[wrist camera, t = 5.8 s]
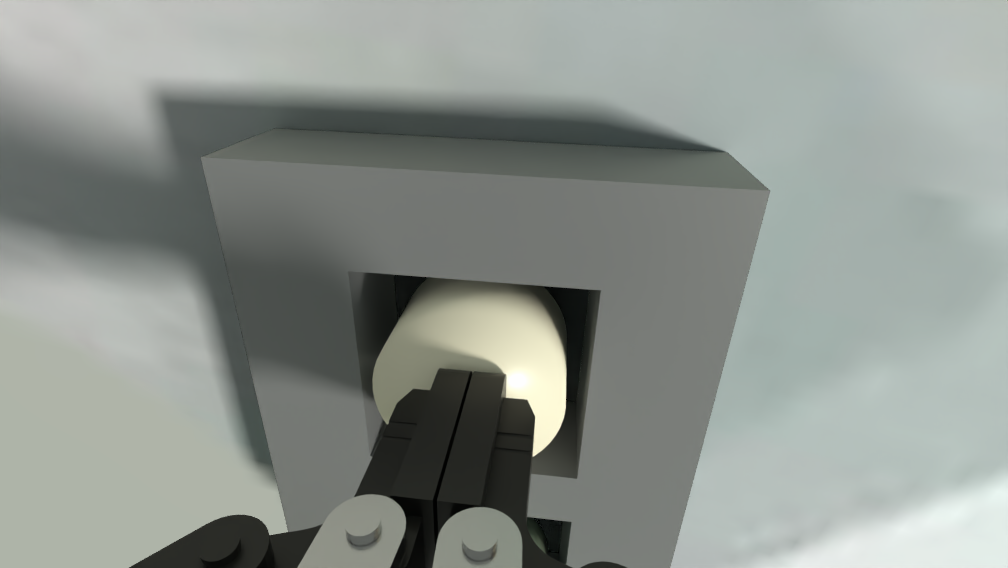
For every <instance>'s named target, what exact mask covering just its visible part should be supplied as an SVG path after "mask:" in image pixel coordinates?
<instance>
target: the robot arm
mask: <svg viewBox="0 0 1008 568" xmlns="http://www.w3.org/2000/svg"><path fill="white" fill-rule="evenodd" d="M506 382H507V376H506V374H499V373H488V372H478V371H474V372H473V374H472V371H465V370H455V369H444V368H439V369H438V371H437V373H436V376H435V379H434V381H433V384H432V387H431V389H430V390H422V389H412V390H411V391H410V392H409V393H408V394H407V395H405V396H404V397H403V398H402V399H401V400H400V401H399V402H398V403H397V404H396V406H395V408H394V411H393V413H392V415H391V417H390V419H389V424H387V426H386V428H385V430H384V433H383V435H382V439H380V441H379V444H378V446H377V448H376V450H375V452H374V455H373V457H372V459H371V461H370V463H369V466H368V468H367V470H366V472H365V474H364V477H363V479H362V481H361V483H360V485H359V488H358V490H357V492H356V494H355V496H354V498H351V499H349V500H347V501H345V502H343V503H342V504H340V505H339V506H337V507H336V508H335V509H334V510H333V511H332V512H331V513H330V514H329V515H328V517H327V518H326V520H325V521H324V523H323V524H321V525H318V526H316V527H313V528H308V529H304V530H298V531H292V532H286V533H281V534H275V535H269V533H268V530H267V528H266V526H265V525H264V524H263V522H262V521H260V520H259V519H257V518H255V517H252V516H247V515H232V516H227V517H223V518H220V519H217V520H214V521H212V522H210V523H208V524H206V525H204V526H202V527H201V528H199V529H197V530H195V531H194V532H192V533H190V534H188V535H186V536H185V537H183V538H181V539H179V540H177V541H176V542H174V543H172V544H170V545H169V546H167V547H165V548H163V549H161V550H160V551H158V552H156V553H154V554H152V555H151V556H149V557H147V558H145V559H144V560H142V561H140V562H138V563H136V564H135V565H133V566H131V567H129V568H572V567H570V566H568V565H566V564H564V563H561V562H559V561H557V560H555V559H553V558H552V557H550V556H549V555H547V554H546V553H544V552H543V551H542V550H541V549H540V548H539V547H538V546H537V545H536V543H535V542H534V541H533V539H532V537H531V535H530V533H529V531H528V528H527V514H528V503H529V492H530V482H531V471H532V458H533V443H534V429H535V415H534V413H533V411H532V409H531V406H530V404H529V402H528V400H525V399H515V398H506ZM581 568H627V567H625V566H622V565H620V564H617V563H612V562H604V561H601V562H593V563H589V564H586V565H584V566H582V567H581Z"/></svg>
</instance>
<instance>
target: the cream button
mask: <svg viewBox="0 0 1008 568" xmlns="http://www.w3.org/2000/svg"><path fill="white" fill-rule="evenodd" d="M566 364H567V331H566V324H565V321H564V317H563V314H562V312H561V310H560V308H559V306H558V304H557V303H556V301H555V300H554V298H553V297H552V296H551V294H550V293H549V292H548V291H547V290H546V289H545V288H544V287H543V286H536V285H523V284H510V283H497V282H484V281H471V280H458V279H445V278H432V277H429V278H427V279H426V280H425V281H424V282H423V283H422V284H421V285H420V286H419V287H418V288H417V290H416V291H415V292H414V294H413V295H412V297H411V299H410V301H409V303H408V304H407V306H406V308H405V310H404V311H403V313H402V315H401V317H400V319H399V320H398V322H397V324H396V326H395V327H394V329H393V331H392V333H391V334H390V336H389V338H388V340H387V342H386V343H385V345H384V347H383V349H382V350H381V352H380V354H379V356H378V358H377V361H376V364H375V367H374V371H373V379H372V382H373V394H374V399H375V402H376V405H377V408H378V410H379V412H380V414H381V416H382V418H383V420H384V421H385V423H386V424H389V419H390V417H391V415H392V413H393V411H394V408H395V406H396V404H397V403H398V402H399V401H400V400H401V399H402V398H403V397H404V396H405V395H407V394H408V393H409V392H410V391H411V390H412V389H422V390H430V389H431V387H432V384H433V381H434V379H435V376H436V373H437V371H438V369H439V368H444V369H455V370H465V371H472V374H473V372H474V371H478V372H488V373H499V374H506V376H507V382H506V398H515V399H525V400H528V402H529V404H530V406H531V409H532V411H533V413H534V415H535V429H534V443H533V457H534V456H535V455H536V454H538V453H539V452H541V451H542V450H543V449H544V448H545V447H546V446H547V445H548V444H549V443H550V442H551V441H552V440H553V438H554V437H555V436H556V434H557V432H558V431H559V429H560V427H561V424H562V422H563V419H564V415H565V409H566Z"/></svg>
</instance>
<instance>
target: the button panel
mask: <svg viewBox="0 0 1008 568" xmlns="http://www.w3.org/2000/svg"><path fill="white" fill-rule="evenodd" d="M201 162H202V166H203V170H204V174H205V179H206V183H207V187H208V191H209V196H210V200H211V204H212V208H213V213H214V217H215V221H216V226H217V230H218V234H219V238H220V243H221V247H222V251H223V255H224V260H225V264H226V268H227V272H228V277H229V281H230V285H231V289H232V294H233V298H234V302H235V307H236V311H237V315H238V319H239V324H240V328H241V332H242V336H243V341H244V345H245V349H246V353H247V358H248V362H249V366H250V370H251V375H252V379H253V383H254V387H255V392H256V396H257V400H258V405H259V409H260V413H261V417H262V422H263V426H264V430H265V434H266V439H267V443H268V447H269V451H270V456H271V460H272V464H273V468H274V473H275V477H276V481H277V486H278V490H279V494H280V498H281V503H282V507H283V511H284V515H285V519H286V524H287V528H288V532H292V531H298V530H304V529H308V528H313V527H316V526H318V525H321V524H323V523H324V521H325V520H326V518H327V517H328V515H329V514H330V513H331V512H332V511H333V510H334V509H335V508H336V507H337V506H339V505H340V504H342V503H343V502H345V501H347V500H349V499H351V498H354V496H355V494H356V492H357V490H358V488H359V485H360V483H361V481H362V479H363V477H364V474H365V472H366V470H367V468H368V466H369V463H370V461H371V459H372V457H373V455H374V452H375V450H376V448H377V446H378V444H379V441H380V439H382V435H383V433H384V430H385V428H386V426H387V424H386V423H385V421H384V420H383V418H382V416H381V414H380V412H379V410H378V408H377V405H376V402H375V399H374V394H373V382H372V379H373V371H374V367H375V364H376V361H377V358H378V356H379V354H380V352H381V350H382V349H383V347H384V345H385V343H386V342H387V340H388V338H389V336H390V334H391V333H392V331H393V329H394V327H395V326H396V324H397V322H398V320H397V307H396V294H395V280H394V275H406V276H419V277H432V278H445V279H458V280H471V281H484V282H497V283H510V284H523V285H536V286H549V287H562V288H575V289H588V290H589V296H588V304H587V313H586V322H585V330H584V339H583V348H582V357H581V365H580V374H579V383H578V391H577V400H576V402H572V401H566V409H565V415H564V419H563V422H562V424H561V427H560V429H559V431H558V432H557V434H556V436H555V437H554V438H553V440H552V441H551V442H550V443H549V444H548V445H547V446H546V447H545V448H544V449H543V450H542V451H541V452H539V453H538V454H536V455H535V456H534V457H533V458H532V471H531V482H530V492H529V503H528V514H527V517H533V518H542V519H550V520H559V521H563V522H562V531H561V540H560V548H559V553H552V552H548V555H549V556H550V557H552V558H553V559H555V560H557V561H559V562H561V563H564V564H566V565H568V566H570V567H572V568H581V567H582V566H584V565H586V564H589V563H593V562H601V561H604V562H612V563H617V564H620V565H622V566H625V567H627V568H670V566H671V562H672V558H673V555H674V551H675V547H676V543H677V540H678V536H679V532H680V528H681V525H682V521H683V517H684V513H685V510H686V506H687V502H688V498H689V495H690V491H691V487H692V483H693V480H694V476H695V472H696V468H697V465H698V461H699V457H700V453H701V449H702V446H703V442H704V438H705V434H706V431H707V427H708V423H709V419H710V416H711V412H712V408H713V404H714V401H715V397H716V393H717V389H718V386H719V382H720V378H721V374H722V371H723V367H724V363H725V359H726V356H727V352H728V348H729V344H730V340H731V337H732V333H733V329H734V325H735V322H736V318H737V314H738V310H739V307H740V303H741V299H742V295H743V292H744V288H745V284H746V280H747V277H748V273H749V269H750V265H751V262H752V258H753V254H754V250H755V246H756V243H757V239H758V235H759V231H760V228H761V224H762V220H763V216H764V213H765V209H766V205H767V201H768V198H769V194H770V190H769V189H768V188H767V187H765V186H764V185H763V184H762V183H761V182H760V181H759V180H758V179H757V178H755V177H754V176H753V175H752V174H751V173H750V172H749V171H748V170H747V169H745V168H744V167H743V166H742V165H741V164H740V163H739V162H738V161H737V160H735V159H734V158H733V157H732V156H731V155H730V154H729V153H728V152H711V151H692V150H673V149H655V148H636V147H617V146H598V145H579V144H560V143H542V142H523V141H504V140H485V139H466V138H448V137H429V136H410V135H391V134H372V133H353V132H335V131H316V130H297V129H278V128H274V129H272V130H269V131H267V132H264V133H261V134H259V135H256V136H254V137H251V138H249V139H246V140H243V141H241V142H238V143H236V144H233V145H231V146H228V147H226V148H223V149H220V150H218V151H215V152H213V153H210V154H208V155H205V156H203V157H201Z"/></svg>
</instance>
